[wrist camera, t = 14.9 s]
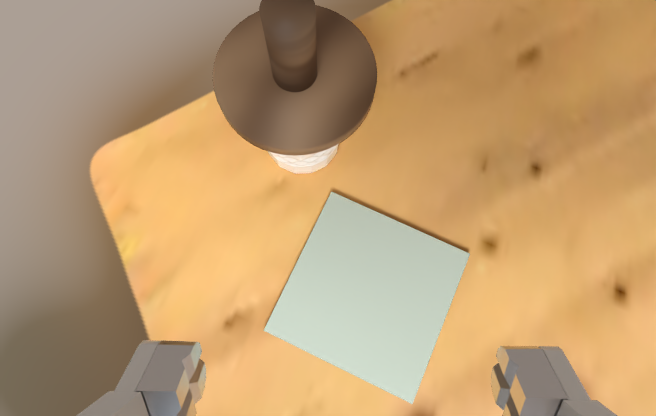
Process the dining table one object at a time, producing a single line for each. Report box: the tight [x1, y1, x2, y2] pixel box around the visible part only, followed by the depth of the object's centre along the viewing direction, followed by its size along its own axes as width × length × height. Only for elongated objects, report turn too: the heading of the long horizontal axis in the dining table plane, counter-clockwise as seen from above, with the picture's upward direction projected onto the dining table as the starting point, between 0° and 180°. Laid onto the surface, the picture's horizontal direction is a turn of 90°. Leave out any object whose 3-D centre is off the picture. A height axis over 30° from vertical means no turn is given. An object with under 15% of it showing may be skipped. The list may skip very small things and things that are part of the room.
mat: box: [264, 191, 470, 404], centre depth 36 cm, size 13×13×1 cm
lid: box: [213, 0, 377, 156], centre depth 26 cm, size 11×11×7 cm
